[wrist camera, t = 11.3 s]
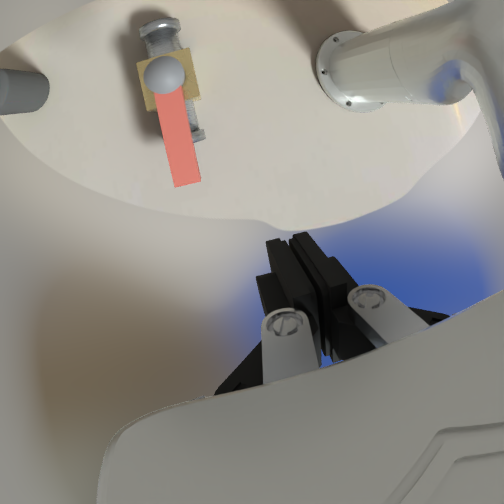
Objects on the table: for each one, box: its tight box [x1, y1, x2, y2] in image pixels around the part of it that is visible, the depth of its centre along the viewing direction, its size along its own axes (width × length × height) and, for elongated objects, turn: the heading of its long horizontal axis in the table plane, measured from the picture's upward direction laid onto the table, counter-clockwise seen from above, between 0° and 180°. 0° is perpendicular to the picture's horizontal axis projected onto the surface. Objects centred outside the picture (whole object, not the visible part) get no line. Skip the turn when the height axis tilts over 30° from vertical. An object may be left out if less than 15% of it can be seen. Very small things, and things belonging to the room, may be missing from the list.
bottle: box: [0, 69, 49, 115], centre depth 21 cm, size 6×6×15 cm
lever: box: [143, 56, 201, 187], centre depth 28 cm, size 14×4×3 cm, turn 9°
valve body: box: [136, 18, 206, 143], centre depth 29 cm, size 6×16×6 cm, turn 11°
